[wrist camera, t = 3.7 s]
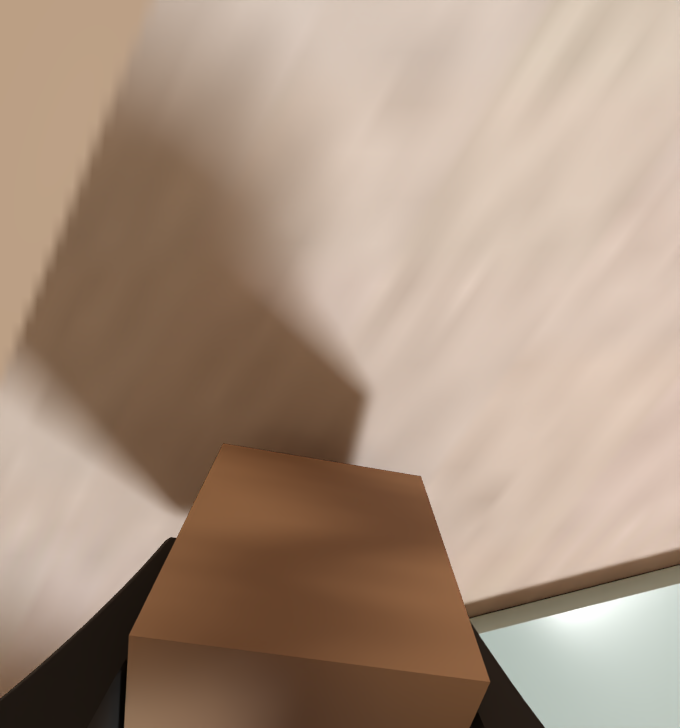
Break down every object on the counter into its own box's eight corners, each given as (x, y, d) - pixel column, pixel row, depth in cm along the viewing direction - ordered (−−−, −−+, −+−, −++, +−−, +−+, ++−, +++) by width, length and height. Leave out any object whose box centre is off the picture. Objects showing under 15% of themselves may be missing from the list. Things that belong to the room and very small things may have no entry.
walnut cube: (420, 476, 11) (490, 681, 6) (376, 620, 12) (403, 874, 8) (222, 443, 10) (128, 635, 6) (203, 596, 12) (117, 847, 7)
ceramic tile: (463, 824, 19) (467, 843, 18) (386, 639, 15) (388, 656, 14) (743, 766, 18) (757, 784, 17) (738, 550, 14) (755, 564, 13)
